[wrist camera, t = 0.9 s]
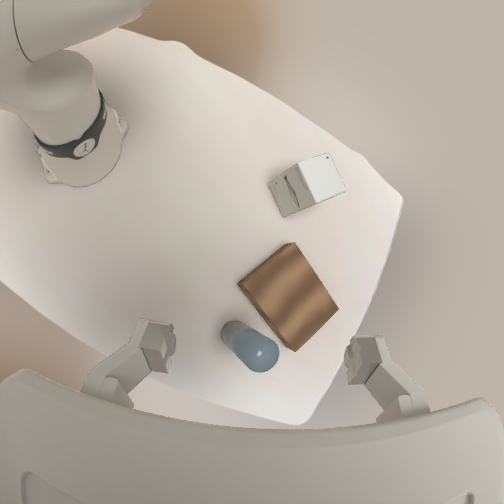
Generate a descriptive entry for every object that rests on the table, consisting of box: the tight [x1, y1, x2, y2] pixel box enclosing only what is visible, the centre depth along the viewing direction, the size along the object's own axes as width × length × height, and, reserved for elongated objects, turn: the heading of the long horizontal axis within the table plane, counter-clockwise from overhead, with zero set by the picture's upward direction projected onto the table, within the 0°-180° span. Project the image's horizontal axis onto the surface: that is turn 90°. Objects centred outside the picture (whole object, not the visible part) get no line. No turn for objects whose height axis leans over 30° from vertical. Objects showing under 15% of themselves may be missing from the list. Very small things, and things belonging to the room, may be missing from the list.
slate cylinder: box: [221, 321, 279, 372], centre depth 41 cm, size 5×5×14 cm
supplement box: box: [268, 153, 347, 218], centre depth 47 cm, size 7×7×13 cm
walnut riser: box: [237, 242, 338, 352], centre depth 50 cm, size 16×12×4 cm
